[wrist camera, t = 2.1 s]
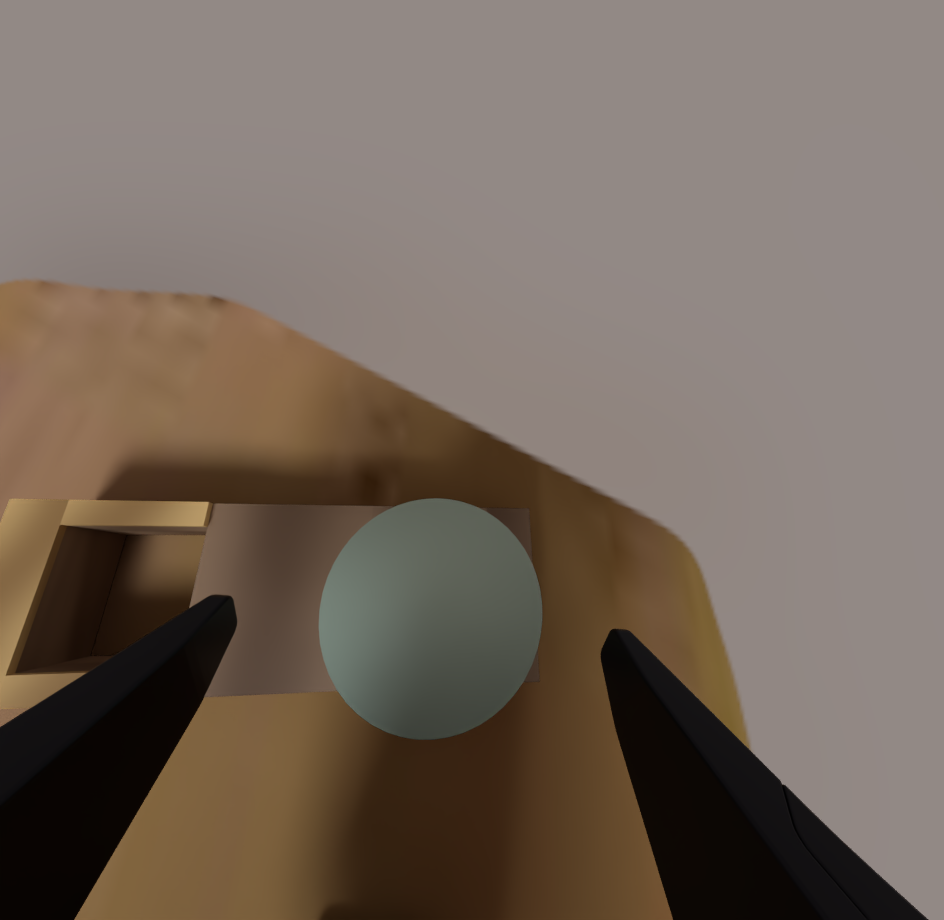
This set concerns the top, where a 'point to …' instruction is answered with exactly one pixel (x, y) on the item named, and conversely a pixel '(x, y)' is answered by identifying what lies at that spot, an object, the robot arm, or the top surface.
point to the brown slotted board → (220, 572)
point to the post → (430, 619)
